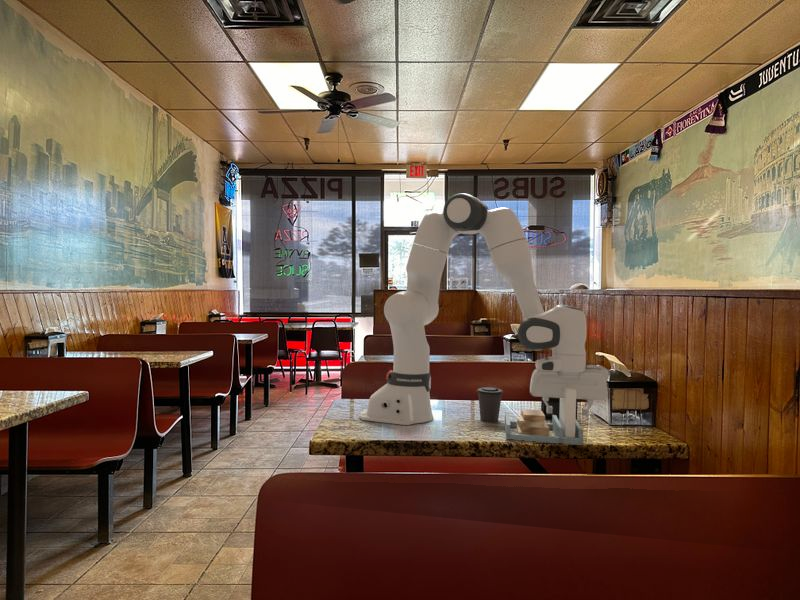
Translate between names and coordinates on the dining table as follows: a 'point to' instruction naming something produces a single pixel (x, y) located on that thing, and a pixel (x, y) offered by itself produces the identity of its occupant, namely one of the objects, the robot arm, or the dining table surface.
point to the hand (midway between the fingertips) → (567, 414)
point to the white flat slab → (568, 412)
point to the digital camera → (556, 407)
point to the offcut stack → (532, 423)
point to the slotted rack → (557, 438)
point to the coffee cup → (489, 403)
